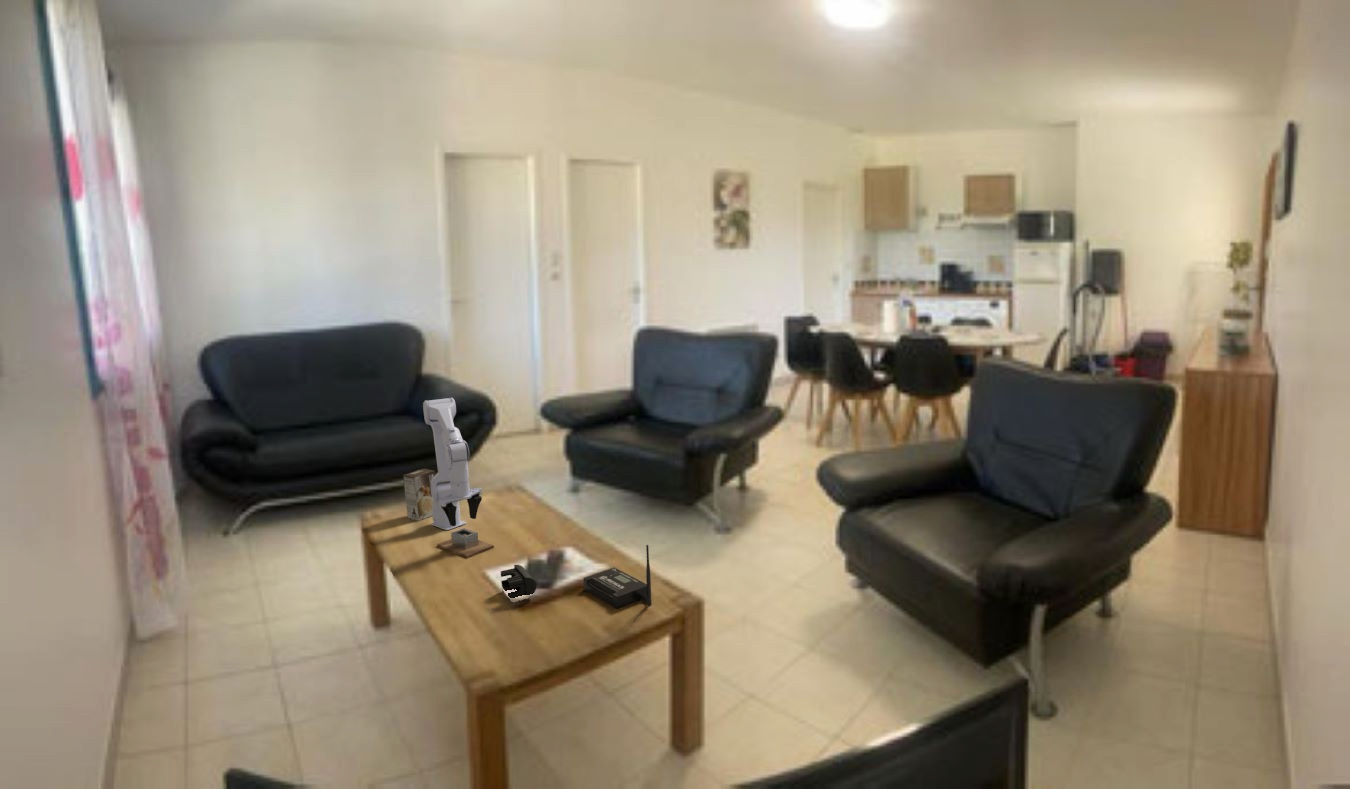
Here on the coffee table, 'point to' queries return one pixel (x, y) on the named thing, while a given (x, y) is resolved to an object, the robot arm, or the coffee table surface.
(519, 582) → the end cap
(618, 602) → the wireless controller
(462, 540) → the steel link
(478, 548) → the keeper board
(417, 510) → the coffee box
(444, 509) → the robot arm
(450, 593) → the coffee table surface
